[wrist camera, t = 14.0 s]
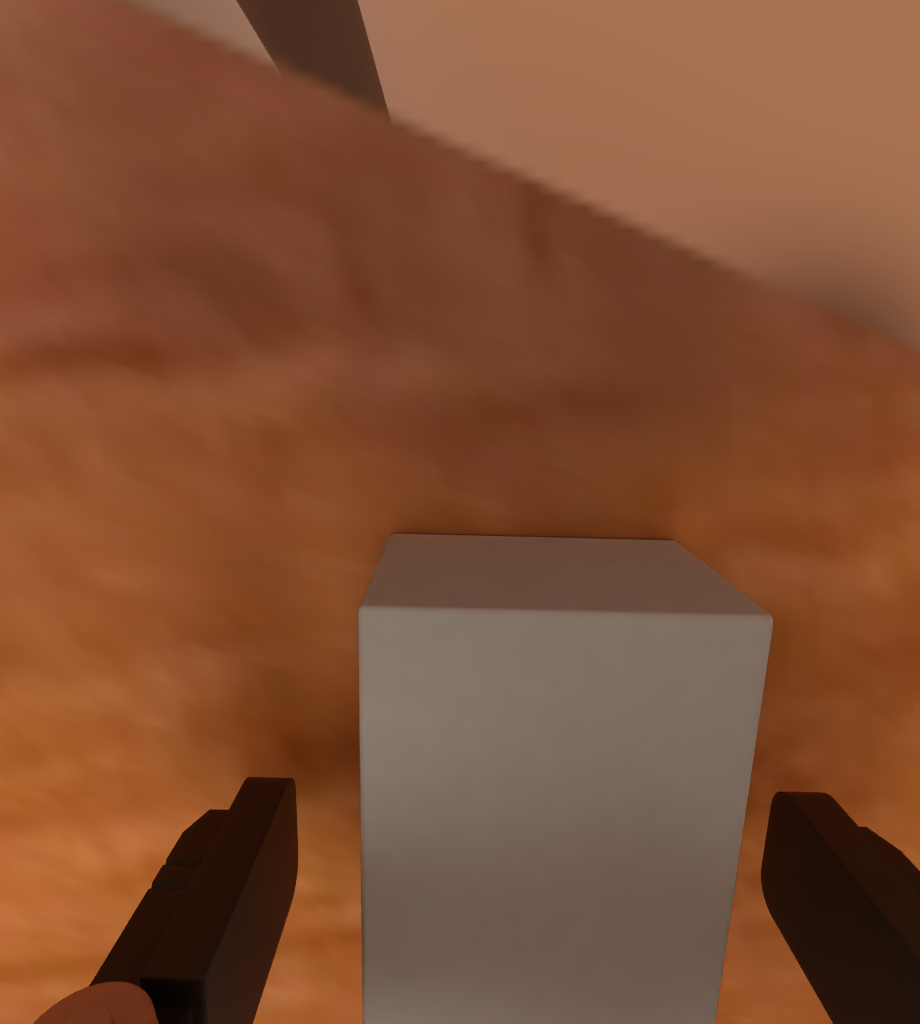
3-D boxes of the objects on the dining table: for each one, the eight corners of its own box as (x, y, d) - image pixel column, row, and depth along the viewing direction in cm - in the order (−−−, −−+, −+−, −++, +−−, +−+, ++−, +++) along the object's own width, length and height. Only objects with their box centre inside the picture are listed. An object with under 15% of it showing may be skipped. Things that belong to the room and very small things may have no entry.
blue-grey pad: (388, 532, 11) (356, 607, 7) (676, 539, 11) (776, 617, 7) (388, 956, 13) (363, 1170, 9) (632, 961, 13) (695, 1176, 9)
